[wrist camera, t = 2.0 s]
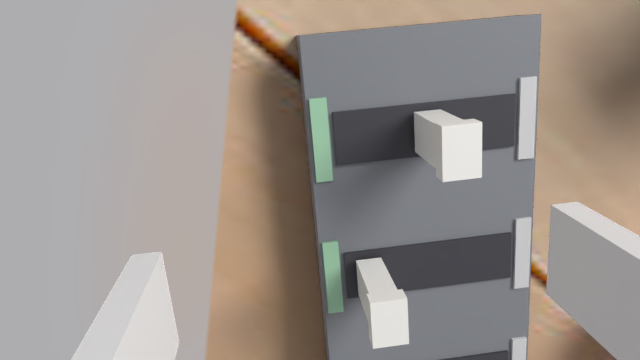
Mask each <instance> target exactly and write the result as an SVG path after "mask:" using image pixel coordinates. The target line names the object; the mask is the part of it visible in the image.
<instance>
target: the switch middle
mask: <svg viewBox="0 0 640 360" xmlns="http://www.w3.org/2000/svg"><path fill="white" fill-rule="evenodd" d="M356 267H357V281H358V295H359V297H360V300H361V303H362V306H363V309H364V312H365V314H366V317H367V320H368V326H369V339H370V342H371V345H372V348H373V349H376V348H383V347H391V346H398V345H405V344H409V326H408V301H407V297H406V295H405V293H404V291H403V289H399V290H397V288H396V286H395V284H394V282H393V280H392V278H391V276H390V274H389V272H388V270H387V268H386V266H385V264H384V262H383V260H382V258H381V257H380V258H372V259H364V260H356Z"/></svg>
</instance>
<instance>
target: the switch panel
mask: <svg viewBox="0 0 640 360" xmlns="http://www.w3.org/2000/svg"><path fill="white" fill-rule="evenodd" d="M540 32H541V14H535V15H516V16H505V17H494V18H483V19H472V20H461V21H450V22H439V23H428V24H417V25H406V26H395V27H384V28H373V29H362V30H351V31H340V32H329V33H318V34H307V35H296V39H297V50H298V60H299V70H300V81H301V91H302V102H303V112H304V123H305V133H306V144H307V154H308V165H309V175H310V185H311V196H312V206H313V217H314V227H315V238H316V248H317V259H318V269H319V280H320V290H321V301H322V311H323V321H324V332H325V342H326V353H327V360H527V349H528V325H529V300H530V276H531V251H532V227H533V203H534V178H535V154H536V130H537V105H538V81H539V56H540ZM438 109H441V110H443V111H445V112H448V113H450V114H452V115H454V116H456V117H458V118H461V119H463V120H466V119H476V120H479V121H481V122H482V178H475V179H466V180H457V181H449V182H442V181H441V180H440V179H438V178H437V177H436V169H435V168H434V167H433V166H432V165H430V164H429V163H428V162H427V161H425V160H424V159H423V158H422V157H421V156H419V155H418V154H417V153H416V152H415V135H414V112H419V111H429V110H438ZM380 257H381V258H382V260H383V262H384V264H385V266H386V268H387V270H388V272H389V274H390V276H391V278H392V280H393V282H394V284H395V286H396V288H397V290H399V289H403V291H404V293H405V295H406V297H407V301H408V326H409V344H405V345H398V346H391V347H383V348H376V349H373V348H372V345H371V342H370V339H369V326H368V320H367V317H366V314H365V312H364V309H363V306H362V303H361V300H360V297H359V295H358V281H357V267H356V260H364V259H372V258H380Z"/></svg>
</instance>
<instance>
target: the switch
mask: <svg viewBox="0 0 640 360" xmlns="http://www.w3.org/2000/svg"><path fill="white" fill-rule="evenodd" d="M414 135H415V152H416V153H417V154H418V155H419V156H421V157H422V158H423V159H424V160H425V161H427V162H428V163H429V164H430V165H432V166H433V167H434V168H435V169H436V177H437V178H438V179H440V180H441V181H442V182H449V181H457V180H466V179H475V178H482V122H481V121H479V120H476V119H466V120H463V119H461V118H458V117H456V116H454V115H452V114H450V113H448V112H445V111H443V110H441V109H438V110H429V111H419V112H414Z"/></svg>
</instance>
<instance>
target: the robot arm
mask: <svg viewBox="0 0 640 360" xmlns="http://www.w3.org/2000/svg"><path fill="white" fill-rule="evenodd" d="M546 294H548V295H549V296H550V297H551V298H552V299H553V300H554V301H555V302H556V303H557V304H558V305H559V306H560V307H561V308H562V309H563V310H565V311H566V312H567V313H568V314H569V315H570V316H571V317H572V318H573V319H574V320H575V321H576V322H577V323H578V324H579V325H580V326H582V327H583V328H584V329H585V330H586V331H587V332H588V333H589V334H590V335H591V336H592V337H593V338H594V339H595V340H596V341H597V342H598V343H600V344H601V345H602V346H603V347H604V348H605V349H606V350H607V351H608V352H609V353H610V354H611V355H612V356H613V357H614V358H615V359H617V360H640V236H638V235H637V234H635V233H633V232H631V231H629V230H628V229H626V228H624V227H622V226H620V225H619V224H617V223H615V222H613V221H611V220H610V219H608V218H606V217H604V216H602V215H601V214H599V213H597V212H595V211H593V210H592V209H590V208H588V207H586V206H584V205H583V204H581V203H579V202H571V203H562V204H554V205H551V217H550V235H549V253H548V272H547V290H546ZM178 345H179V338H178V333H177V328H176V323H175V318H174V313H173V308H172V302H171V297H170V292H169V286H168V281H167V276H166V271H165V266H164V261H163V255H162V252H153V253H145V254H136V255H132V256H131V257H130V259H129V261H128V262H127V264H126V266H125V267H124V269H123V271H122V273H121V275H120V276H119V278H118V280H117V282H116V283H115V285H114V286H113V288H112V290H111V292H110V293H109V295H108V297H107V299H106V300H105V302H104V304H103V305H102V307H101V309H100V311H99V312H98V314H97V316H96V317H95V319H94V321H93V323H92V325H91V326H90V328H89V330H88V331H87V333H86V335H85V337H84V338H83V340H82V342H81V343H80V345H79V347H78V349H77V350H76V352H75V354H74V355H73V357H72V359H71V360H175V357H176V353H177V349H178Z"/></svg>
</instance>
